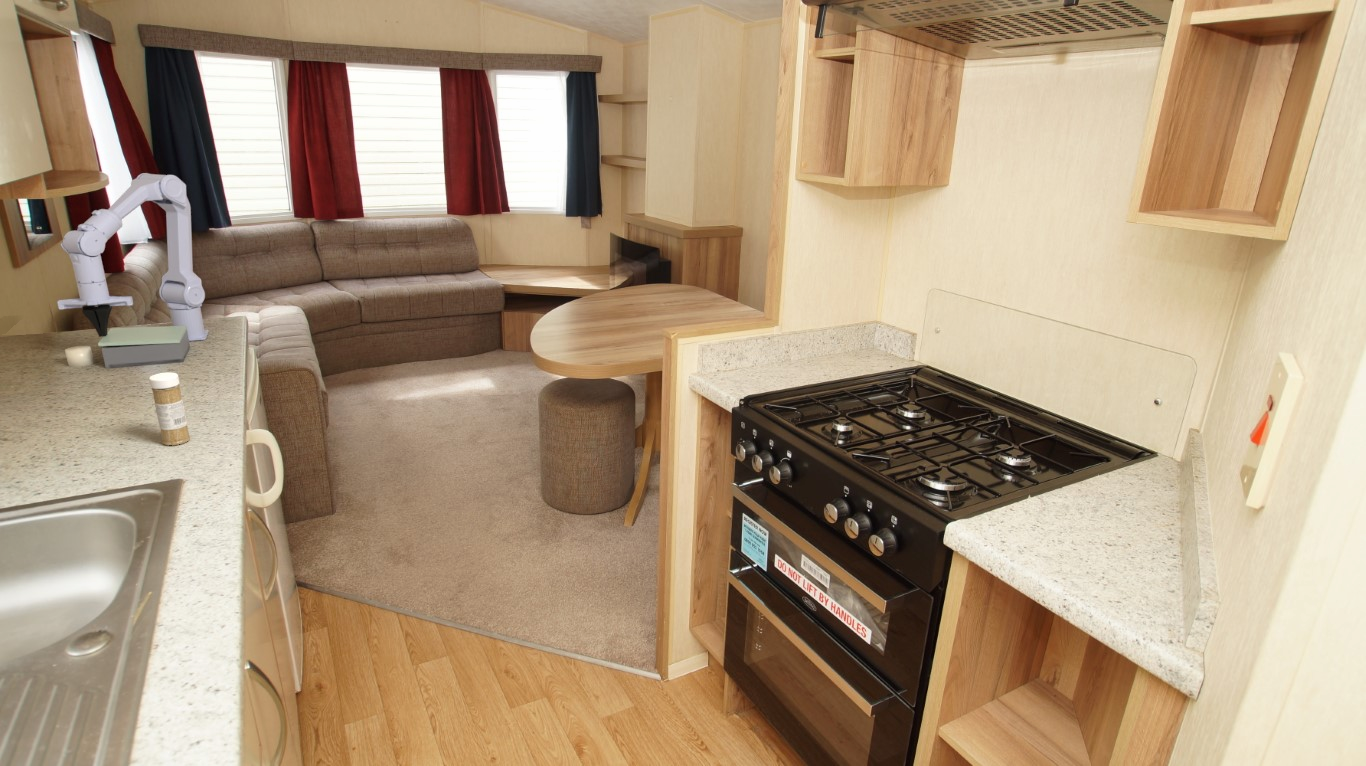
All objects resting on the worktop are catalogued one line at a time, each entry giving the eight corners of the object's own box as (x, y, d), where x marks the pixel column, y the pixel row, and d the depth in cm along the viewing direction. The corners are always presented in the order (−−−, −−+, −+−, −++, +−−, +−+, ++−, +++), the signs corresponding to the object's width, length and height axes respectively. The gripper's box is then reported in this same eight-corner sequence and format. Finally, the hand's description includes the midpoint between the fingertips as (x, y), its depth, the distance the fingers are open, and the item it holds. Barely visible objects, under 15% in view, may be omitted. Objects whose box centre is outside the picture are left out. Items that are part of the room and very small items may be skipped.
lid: (111, 331, 193) (110, 328, 192) (187, 328, 200) (186, 325, 200) (98, 346, 180) (98, 342, 180) (179, 342, 187) (179, 339, 187)
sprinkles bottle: (184, 435, 147) (171, 369, 143) (195, 441, 145) (182, 375, 140) (158, 442, 143) (144, 375, 139) (168, 448, 141) (154, 380, 137)
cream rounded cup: (71, 362, 186) (67, 346, 185) (96, 360, 188) (92, 345, 187) (66, 368, 182) (62, 352, 181) (91, 366, 184) (87, 350, 183)
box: (117, 352, 194) (113, 334, 193) (190, 347, 201) (186, 329, 200) (105, 368, 183) (101, 348, 181) (183, 361, 189) (179, 342, 188)
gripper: (49, 286, 175) (62, 342, 180) (124, 282, 181) (135, 336, 186) (57, 280, 181) (70, 334, 186) (129, 277, 187) (140, 329, 192)
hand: (103, 335), depth 186 cm, fingers closed
